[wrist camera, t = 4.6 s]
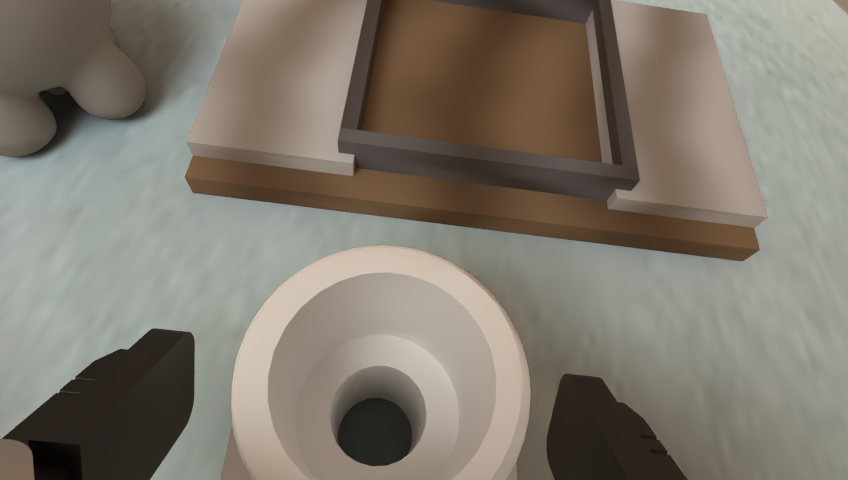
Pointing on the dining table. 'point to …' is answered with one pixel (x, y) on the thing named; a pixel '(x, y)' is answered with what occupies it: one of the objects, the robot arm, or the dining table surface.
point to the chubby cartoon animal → (60, 68)
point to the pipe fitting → (379, 371)
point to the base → (485, 119)
